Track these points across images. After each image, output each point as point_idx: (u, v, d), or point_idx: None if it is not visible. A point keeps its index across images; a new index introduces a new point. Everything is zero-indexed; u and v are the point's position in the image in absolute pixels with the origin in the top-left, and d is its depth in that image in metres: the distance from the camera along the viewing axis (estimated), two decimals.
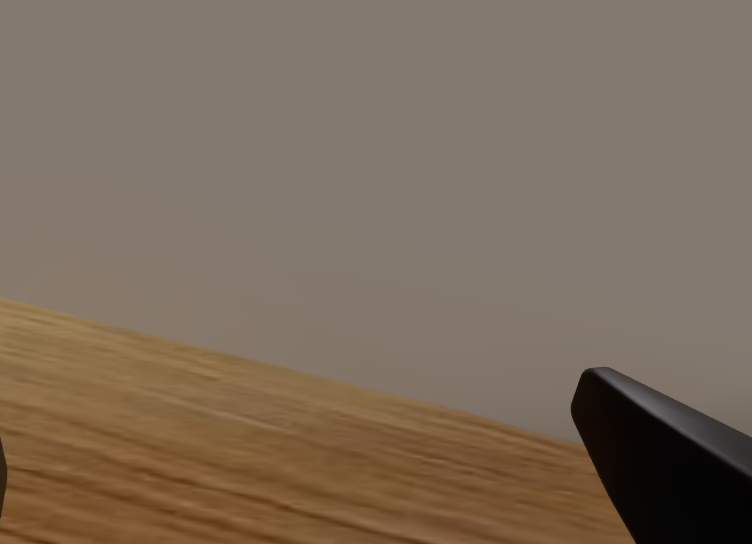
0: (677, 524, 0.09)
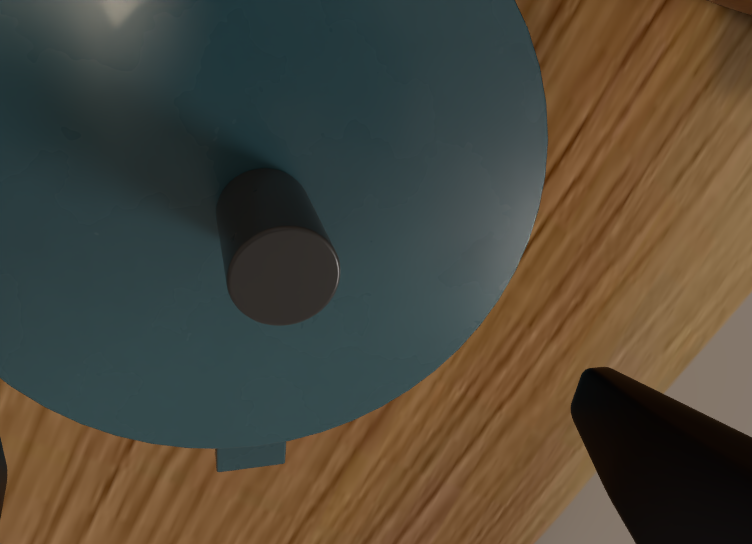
0: (677, 524, 0.09)
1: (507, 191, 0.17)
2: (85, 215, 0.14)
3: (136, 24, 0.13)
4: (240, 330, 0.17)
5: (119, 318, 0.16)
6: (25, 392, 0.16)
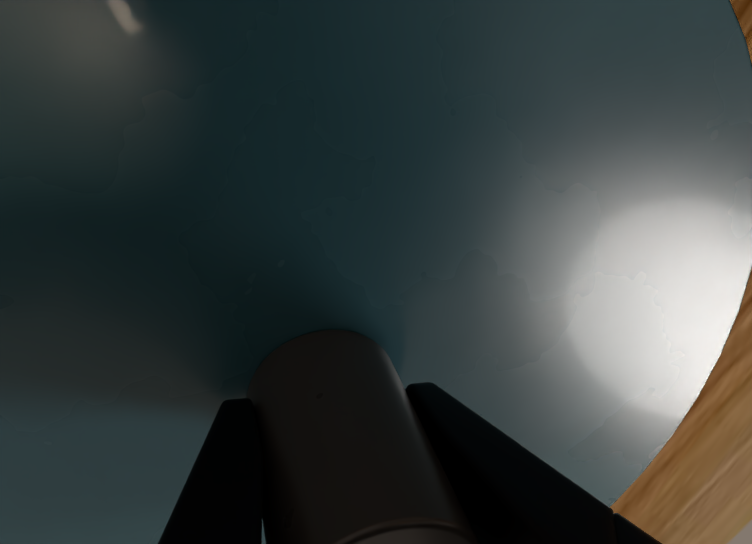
0: None
1: (683, 333, 0.11)
2: (28, 418, 0.08)
3: (111, 113, 0.07)
4: None
5: None
6: None
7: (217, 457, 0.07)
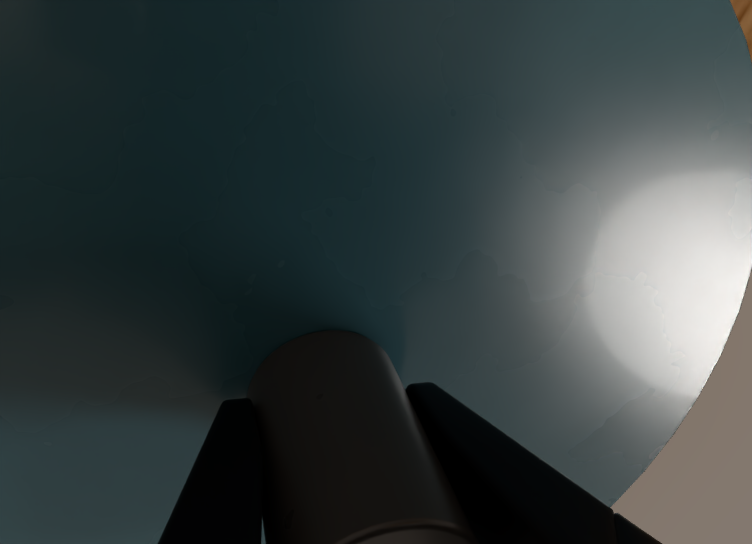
0: None
1: (684, 334, 0.11)
2: (28, 419, 0.08)
3: (111, 114, 0.07)
4: None
5: None
6: None
7: (216, 457, 0.07)
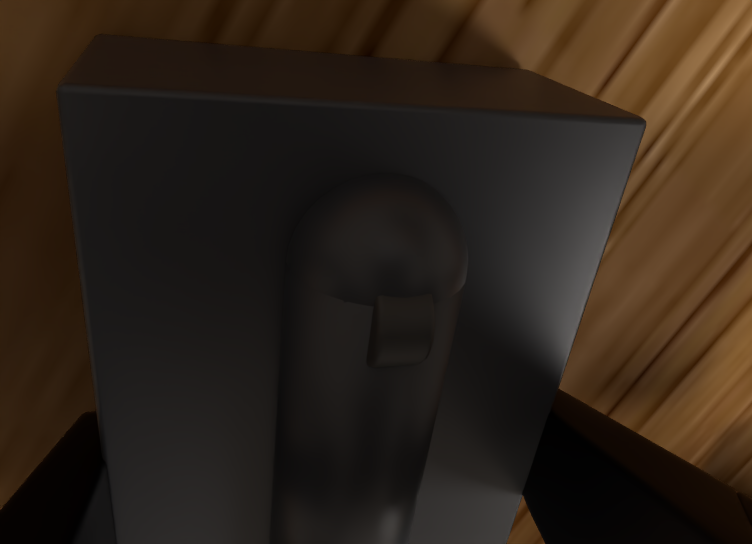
0: (589, 540, 0.08)
1: None
2: None
3: None
4: None
5: None
6: None
7: (50, 476, 0.07)
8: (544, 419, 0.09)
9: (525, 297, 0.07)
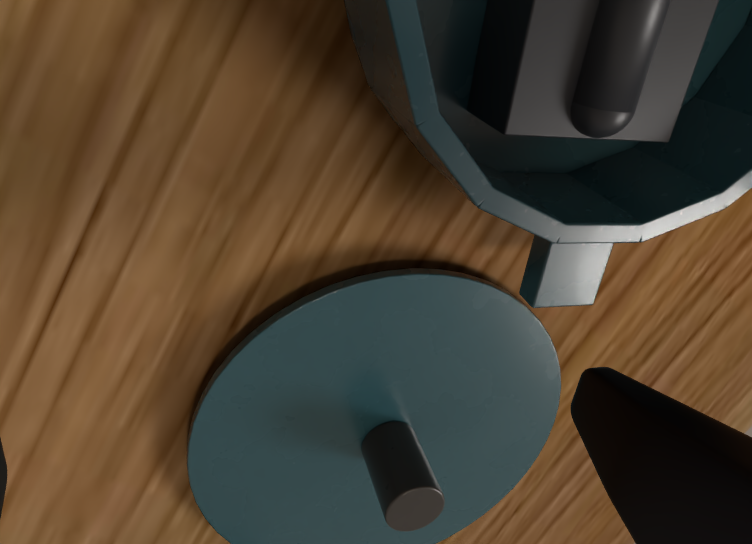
0: (677, 524, 0.09)
1: (534, 415, 0.27)
2: (289, 455, 0.24)
3: (333, 366, 0.23)
4: (366, 503, 0.27)
5: (298, 503, 0.26)
6: None
7: None
8: None
9: None
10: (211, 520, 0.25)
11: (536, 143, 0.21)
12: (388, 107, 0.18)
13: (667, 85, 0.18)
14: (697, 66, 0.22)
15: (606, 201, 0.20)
